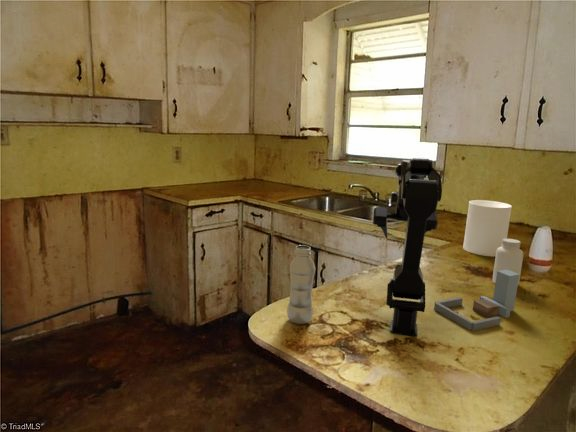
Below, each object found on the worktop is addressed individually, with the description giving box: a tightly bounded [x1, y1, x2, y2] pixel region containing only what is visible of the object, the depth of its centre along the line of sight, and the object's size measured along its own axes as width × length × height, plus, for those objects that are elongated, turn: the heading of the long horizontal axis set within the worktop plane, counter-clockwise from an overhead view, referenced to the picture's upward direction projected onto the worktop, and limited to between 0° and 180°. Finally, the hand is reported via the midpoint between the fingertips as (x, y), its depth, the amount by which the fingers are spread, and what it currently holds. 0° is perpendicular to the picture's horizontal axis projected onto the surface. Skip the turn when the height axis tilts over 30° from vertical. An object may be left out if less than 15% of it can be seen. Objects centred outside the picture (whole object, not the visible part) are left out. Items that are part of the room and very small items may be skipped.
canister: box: [462, 199, 513, 257], centre depth 176 cm, size 16×16×20 cm
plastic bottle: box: [286, 244, 316, 325], centre depth 108 cm, size 6×7×20 cm
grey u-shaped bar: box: [433, 297, 501, 332], centre depth 116 cm, size 10×14×2 cm
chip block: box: [472, 298, 499, 318], centre depth 119 cm, size 4×5×3 cm
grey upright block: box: [479, 270, 521, 319], centre depth 120 cm, size 6×9×11 cm
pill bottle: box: [492, 238, 524, 286], centre depth 140 cm, size 8×8×15 cm
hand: (401, 238), depth 134 cm, fingers open, 9 cm apart
